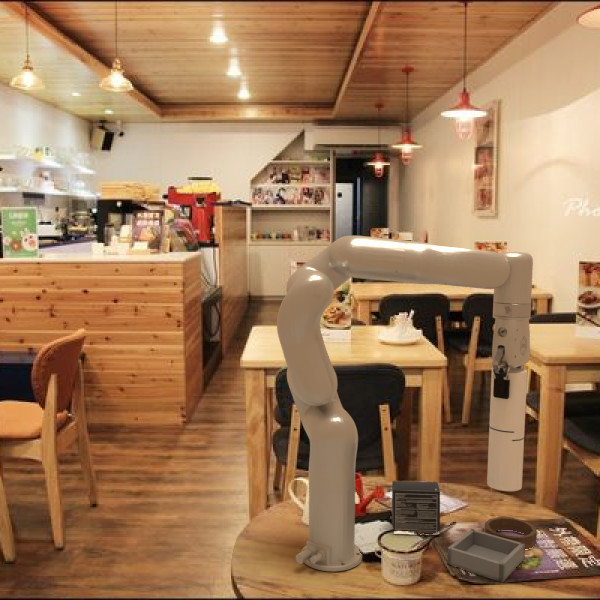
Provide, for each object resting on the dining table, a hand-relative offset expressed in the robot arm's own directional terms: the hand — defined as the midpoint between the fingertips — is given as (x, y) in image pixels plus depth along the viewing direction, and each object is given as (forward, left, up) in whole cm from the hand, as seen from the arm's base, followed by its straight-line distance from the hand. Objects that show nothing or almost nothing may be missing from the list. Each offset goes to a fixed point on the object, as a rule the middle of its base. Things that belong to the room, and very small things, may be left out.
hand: (508, 394), depth 144 cm
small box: (-5, +19, -34) cm, 39 cm away
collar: (+3, 0, -33) cm, 33 cm away
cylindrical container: (0, 0, -20) cm, 20 cm away
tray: (-10, 0, -33) cm, 35 cm away
